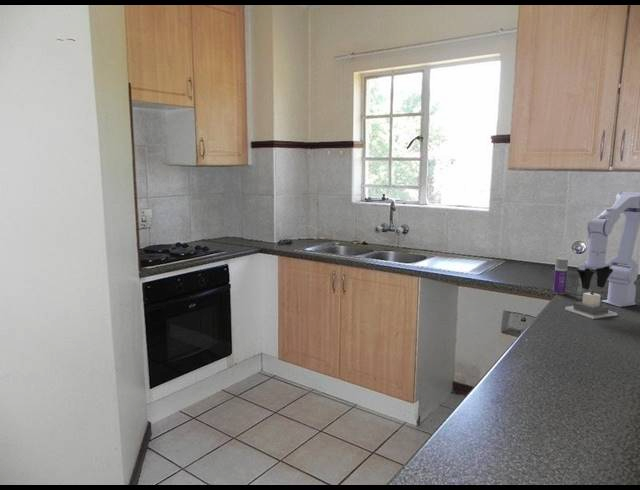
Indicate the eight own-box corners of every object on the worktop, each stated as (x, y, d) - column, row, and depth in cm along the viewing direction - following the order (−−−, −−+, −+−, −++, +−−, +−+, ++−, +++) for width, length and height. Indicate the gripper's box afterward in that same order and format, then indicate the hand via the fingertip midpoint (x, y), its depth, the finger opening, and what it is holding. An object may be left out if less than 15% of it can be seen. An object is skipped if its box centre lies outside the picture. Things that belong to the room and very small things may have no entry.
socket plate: (587, 306, 182) (588, 298, 182) (616, 315, 171) (617, 307, 171) (564, 309, 178) (565, 301, 178) (593, 318, 167) (594, 310, 167)
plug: (589, 307, 177) (591, 289, 176) (598, 310, 174) (601, 291, 173) (581, 308, 176) (583, 290, 175) (591, 311, 172) (593, 292, 171)
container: (558, 294, 199) (561, 259, 197) (550, 291, 204) (553, 257, 201) (567, 294, 200) (570, 259, 198) (559, 291, 205) (562, 257, 203)
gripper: (601, 248, 177) (597, 283, 180) (572, 250, 172) (569, 286, 174) (618, 251, 171) (614, 288, 173) (590, 254, 166) (585, 291, 168)
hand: (593, 287), depth 173 cm, fingers open, 7 cm apart
